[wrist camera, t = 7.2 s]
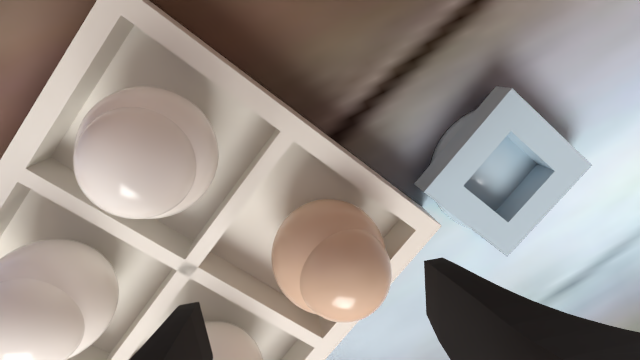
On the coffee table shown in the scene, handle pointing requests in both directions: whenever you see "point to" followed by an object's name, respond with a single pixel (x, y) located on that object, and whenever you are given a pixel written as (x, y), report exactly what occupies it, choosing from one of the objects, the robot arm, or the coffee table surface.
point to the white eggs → (120, 200)
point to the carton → (211, 209)
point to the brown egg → (332, 261)
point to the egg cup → (501, 169)
